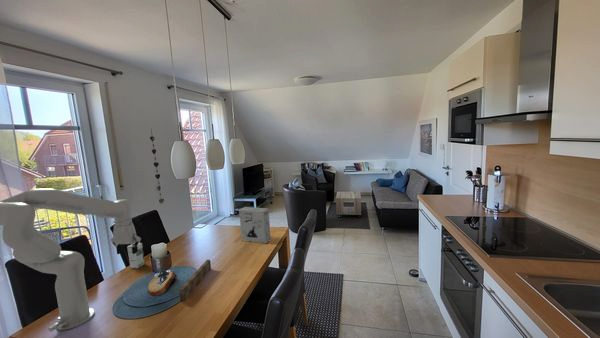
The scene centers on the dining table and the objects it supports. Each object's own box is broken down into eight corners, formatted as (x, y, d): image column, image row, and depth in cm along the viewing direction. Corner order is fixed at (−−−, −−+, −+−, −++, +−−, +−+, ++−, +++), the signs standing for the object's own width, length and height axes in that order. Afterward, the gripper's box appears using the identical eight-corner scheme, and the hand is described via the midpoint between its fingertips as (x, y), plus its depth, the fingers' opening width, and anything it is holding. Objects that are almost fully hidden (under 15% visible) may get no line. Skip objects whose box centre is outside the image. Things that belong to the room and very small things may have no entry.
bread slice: (155, 298, 124) (154, 291, 124) (136, 288, 133) (136, 282, 133) (187, 280, 139) (187, 273, 139) (168, 272, 149) (168, 266, 148)
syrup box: (137, 268, 155) (134, 246, 153) (129, 267, 156) (126, 246, 155) (145, 263, 161) (142, 242, 159) (137, 263, 162) (134, 242, 160)
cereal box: (241, 241, 190) (238, 209, 188) (247, 237, 197) (244, 206, 194) (265, 244, 182) (263, 211, 179) (270, 240, 189) (268, 208, 186)
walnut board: (184, 301, 120) (182, 289, 119) (180, 301, 120) (179, 289, 119) (211, 269, 149) (210, 259, 149) (207, 269, 150) (206, 259, 149)
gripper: (102, 225, 131) (107, 256, 133) (133, 224, 129) (137, 256, 131) (114, 220, 138) (118, 250, 140) (143, 219, 137) (147, 249, 139)
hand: (127, 253), depth 136 cm, fingers open, 8 cm apart
